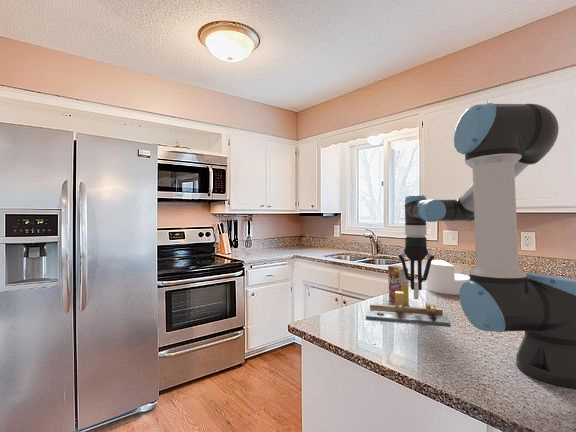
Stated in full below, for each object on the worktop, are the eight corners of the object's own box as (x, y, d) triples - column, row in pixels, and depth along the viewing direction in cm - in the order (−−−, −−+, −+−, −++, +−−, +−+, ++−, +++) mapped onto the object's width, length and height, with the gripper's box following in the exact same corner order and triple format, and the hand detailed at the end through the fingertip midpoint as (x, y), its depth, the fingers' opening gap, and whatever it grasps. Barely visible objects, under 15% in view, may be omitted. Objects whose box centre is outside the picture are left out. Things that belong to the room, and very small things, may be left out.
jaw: (404, 317, 118) (404, 297, 118) (395, 317, 119) (395, 296, 119) (403, 310, 127) (403, 291, 127) (395, 309, 128) (395, 290, 128)
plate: (450, 325, 111) (450, 322, 111) (365, 318, 119) (365, 315, 119) (446, 318, 119) (446, 315, 119) (367, 312, 127) (367, 309, 127)
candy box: (387, 299, 145) (387, 265, 145) (396, 299, 146) (395, 264, 146) (400, 305, 136) (400, 268, 136) (409, 304, 137) (408, 268, 137)
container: (477, 295, 151) (477, 266, 151) (431, 293, 155) (431, 265, 154) (462, 285, 171) (462, 260, 170) (422, 284, 174) (422, 259, 174)
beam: (445, 322, 114) (445, 309, 114) (369, 316, 122) (368, 304, 122) (441, 314, 123) (441, 302, 123) (370, 309, 131) (370, 298, 131)
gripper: (433, 235, 125) (433, 297, 126) (397, 235, 129) (397, 294, 130) (435, 237, 118) (436, 302, 119) (397, 236, 122) (398, 299, 122)
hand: (416, 298), depth 124 cm, fingers closed
